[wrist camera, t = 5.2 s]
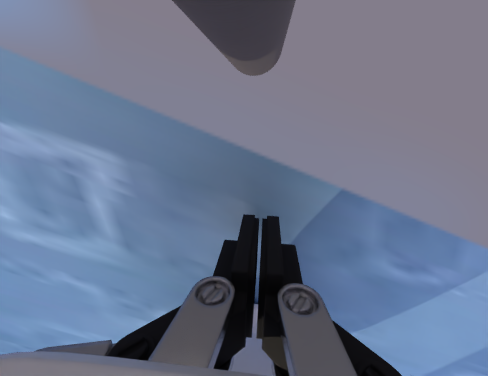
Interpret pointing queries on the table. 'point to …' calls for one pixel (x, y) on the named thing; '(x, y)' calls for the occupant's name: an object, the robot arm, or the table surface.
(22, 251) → the table surface
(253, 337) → the jar
